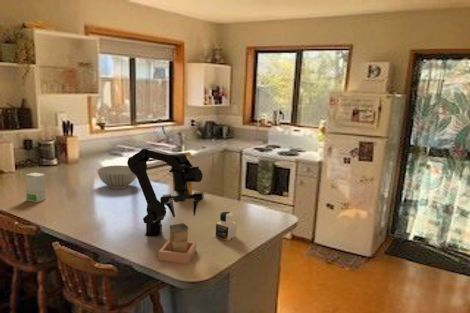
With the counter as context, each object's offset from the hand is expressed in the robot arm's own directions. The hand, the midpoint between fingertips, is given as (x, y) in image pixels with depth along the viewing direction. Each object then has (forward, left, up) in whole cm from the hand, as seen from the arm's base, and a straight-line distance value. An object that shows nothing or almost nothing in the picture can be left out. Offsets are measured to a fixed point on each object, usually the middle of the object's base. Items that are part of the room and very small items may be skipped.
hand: (184, 216), depth 162 cm
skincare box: (-99, +34, -13) cm, 105 cm away
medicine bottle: (+17, +12, -13) cm, 25 cm away
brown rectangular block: (+1, -13, -12) cm, 18 cm away
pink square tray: (+1, -13, -13) cm, 18 cm away
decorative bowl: (-69, +76, -13) cm, 103 cm away
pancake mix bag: (-22, +71, -13) cm, 76 cm away
